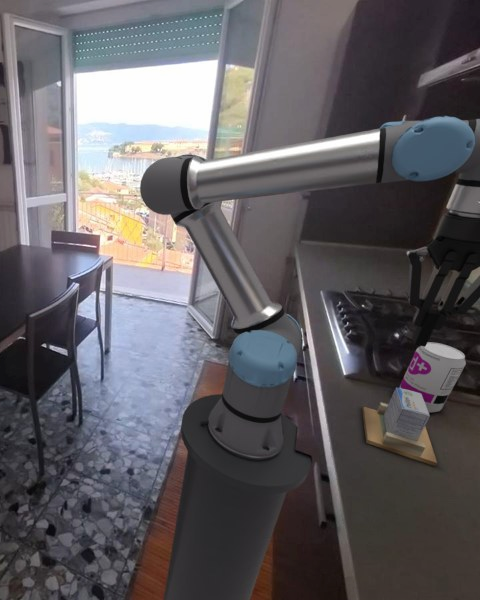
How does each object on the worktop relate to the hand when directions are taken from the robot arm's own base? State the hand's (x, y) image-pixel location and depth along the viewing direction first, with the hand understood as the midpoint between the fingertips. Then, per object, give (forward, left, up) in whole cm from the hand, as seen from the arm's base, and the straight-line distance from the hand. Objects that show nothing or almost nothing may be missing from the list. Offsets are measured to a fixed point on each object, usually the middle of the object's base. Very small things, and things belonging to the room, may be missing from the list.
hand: (418, 342), depth 66 cm
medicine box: (+4, +4, -24) cm, 24 cm away
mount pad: (+4, +4, -24) cm, 25 cm away
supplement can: (+10, +20, -25) cm, 33 cm away
